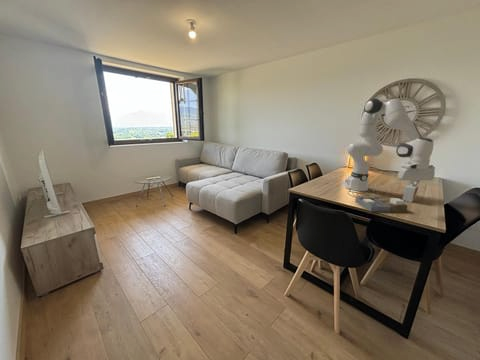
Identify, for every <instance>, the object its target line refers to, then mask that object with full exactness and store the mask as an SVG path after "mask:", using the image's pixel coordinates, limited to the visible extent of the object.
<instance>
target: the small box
mask: <svg viewBox="0 0 480 360" xmlns="http://www.w3.org/2000/svg"><path fill="white" fill-rule="evenodd" d="M404 187H405V188H404V191H403V195H402V199H401V200H403V201H404V202H408V203H409V202H410V203H413V202H414V201H415V200H416V197H417V194H418V193H417V192H418V189H419V186H418V185H417V187H410V184H408V185H406V186H404Z"/></svg>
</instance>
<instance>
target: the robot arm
mask: <svg viewBox="0 0 480 360" xmlns="http://www.w3.org/2000/svg"><path fill="white" fill-rule="evenodd" d="M363 110H364V112H363V114H362V116H361V121H360V125H359V132H358V134H359V136H360V137H361V138H362V139H364V142H363V141H362V142H361V141H360V142H352V143H351V142H350V144H348V146H347V147H346V148H347V150H346V151H347V154H348V155H349V156H350V157H351V158H352V160H353V169H352V171H351V173H350V176H348V177H346V178H345V180H344V182H341V185H342V186H343V187H344V188H345V189H347V190H352V191H356V192H367V191H368V190H369V188H370V187H369V174H370V173H369V172H370V171H369V170H370V162H368V161H367V160H365V157H378V156H380V155H381V154H382V153H383V151H384V146H383V145H382V143H380V142H379V141H378V138H377V127H378V120H379V117H385V119H386V122H387V125H388V126H389V127H391V128H392V129H395V130H399V131H401V132H403V133H404V134H405V135H406V136H407V139H408V140H409V141H407V142H402V143H400V144H398V146H397V147H396V150H395V153H396V155H397V156H398V157H399V158H404V159H409V161H406V162H402V163H401V164H400V168H399V170H398V172H397V173H398V174H397V179H398V180H399V181H400V180H401V181H409V185H410V187H417V186H418V185H419V183H420V182H421V181H433V180H434V179H435V174H436V173H435V172H436V171H435V169H436V167H435V166H434V165H432V164H430V162H431V159H430V158H431V156H432V154H433V151H434V140H433V139H431V138H427V137H422V135H421V133H420V132H419V129H418V128H417V126H416V124H415V123H414V121H413V120H412V119H411V118H410V116H409V115H408V113H407V110H406V108H405V105H404V103H403V102H402V100H401V99H399V98H393V99H392V98H385V97H384V98H383V97H382V98H375V97H374V98H370V99H368V100H367V101H366V102H365V104H364V109H363Z"/></svg>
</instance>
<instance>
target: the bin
mask: <svg viewBox="0 0 480 360" xmlns="http://www.w3.org/2000/svg"><path fill="white" fill-rule="evenodd" d="M374 197H375V196H374ZM374 197H373V196H372V197H371V196H369V197H368V196H367V197H361V196H360V197H359V196H358V197H355V201H354V202H355V203H356V204H358V205H360V206H361V207H363V208H364V209H365V210H367V211H369V212H373V213H374V212H375V213H376V212H380V213H381V212H383V213H385V212H388V213H389V212H390V209H391V206H389V205H387V204H385V203H384V202H382V201H380V200H378V199H376V198H374ZM363 199H371V200H373V201H375V204H374V205H369V204H368V203H366V202H364V201H363ZM390 213H391V212H390Z"/></svg>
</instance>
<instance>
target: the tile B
mask: <svg viewBox="0 0 480 360" xmlns="http://www.w3.org/2000/svg"><path fill="white" fill-rule="evenodd" d="M390 202H391V203H393V204H395V205H404V204H405V201H404V200H402V199H400V198H397V197H396V198H395V197H394V198H393V197H390Z"/></svg>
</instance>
